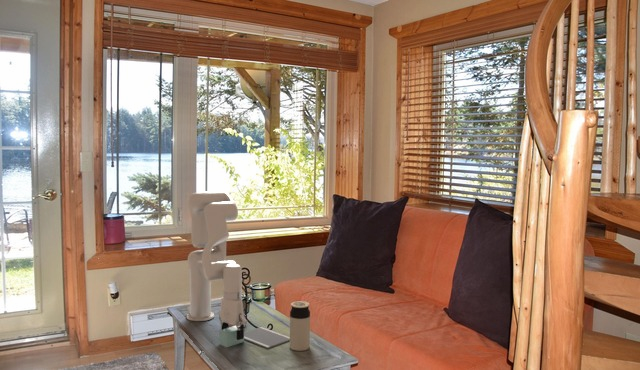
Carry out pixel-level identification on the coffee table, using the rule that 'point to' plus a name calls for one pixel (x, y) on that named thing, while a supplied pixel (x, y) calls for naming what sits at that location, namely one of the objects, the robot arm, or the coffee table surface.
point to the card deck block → (229, 337)
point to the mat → (265, 337)
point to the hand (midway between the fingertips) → (232, 336)
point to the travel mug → (300, 326)
